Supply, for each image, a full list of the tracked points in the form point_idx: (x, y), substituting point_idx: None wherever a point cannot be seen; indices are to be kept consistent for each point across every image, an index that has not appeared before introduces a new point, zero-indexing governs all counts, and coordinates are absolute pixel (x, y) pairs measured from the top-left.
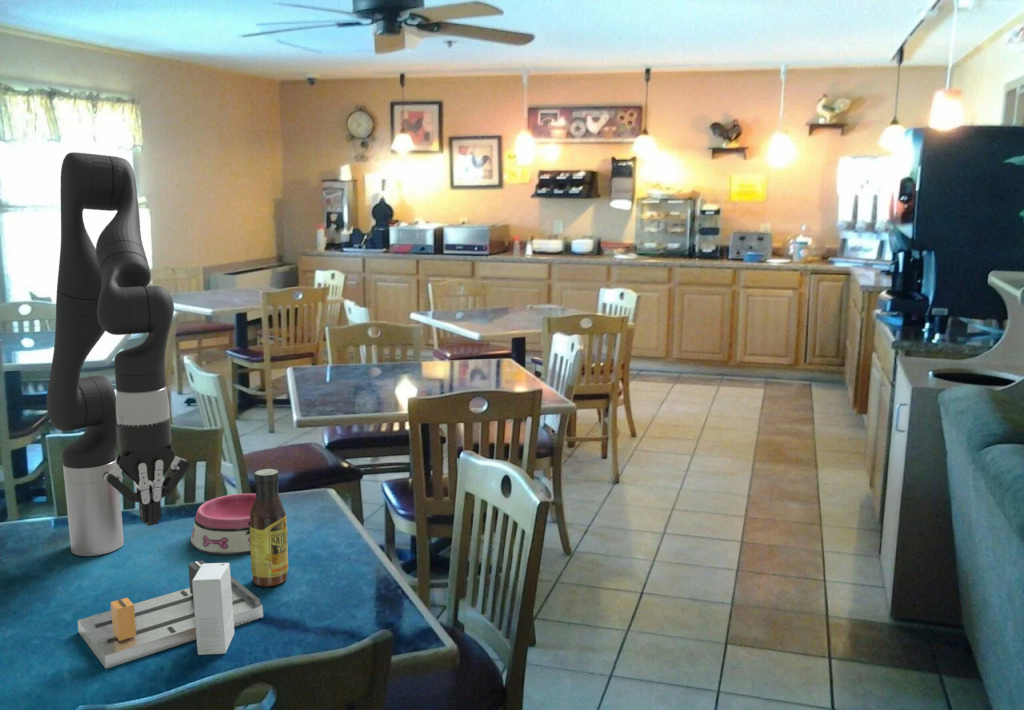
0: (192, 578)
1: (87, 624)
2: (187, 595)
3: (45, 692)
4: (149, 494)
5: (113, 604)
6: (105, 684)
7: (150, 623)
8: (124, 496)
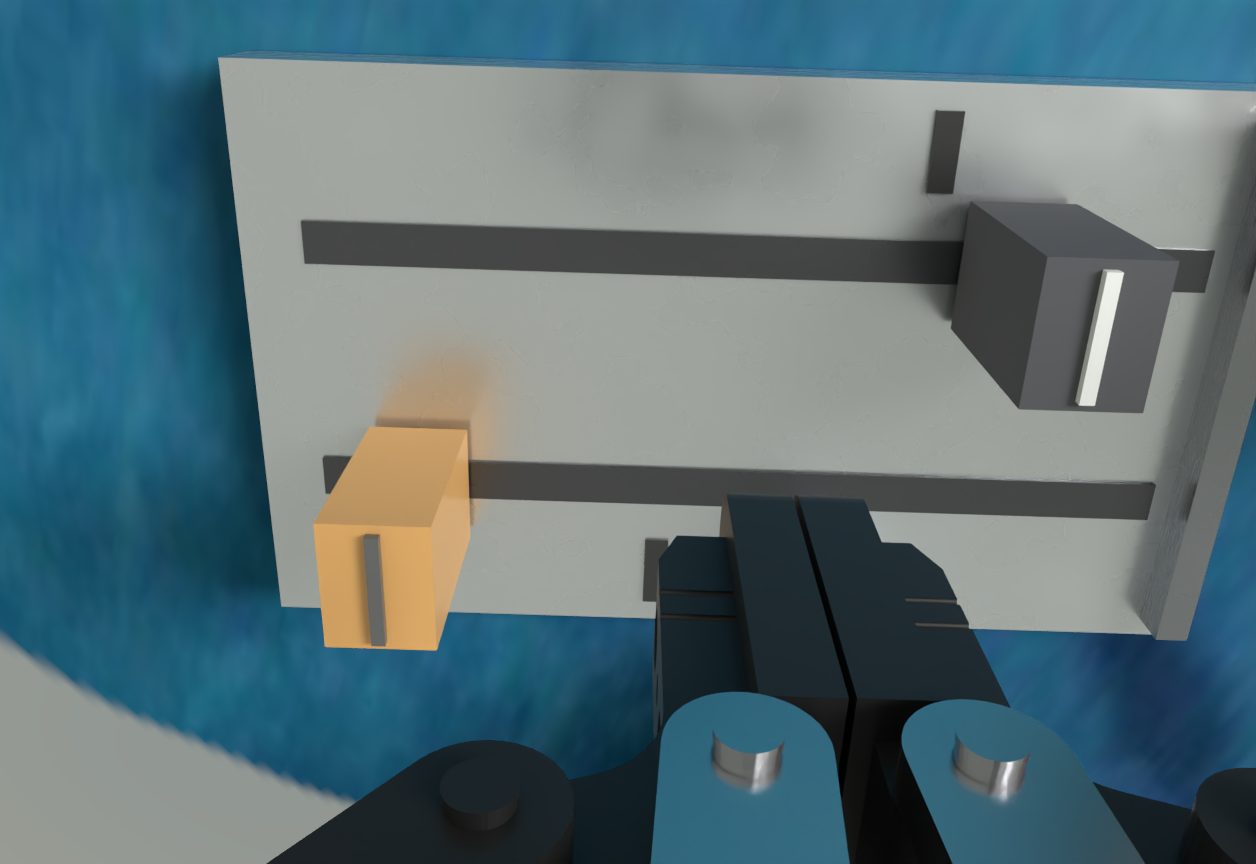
0: (1000, 305)
1: (265, 175)
2: (943, 203)
3: (26, 586)
4: (901, 836)
5: (322, 569)
6: (274, 684)
7: (592, 424)
8: (374, 806)
